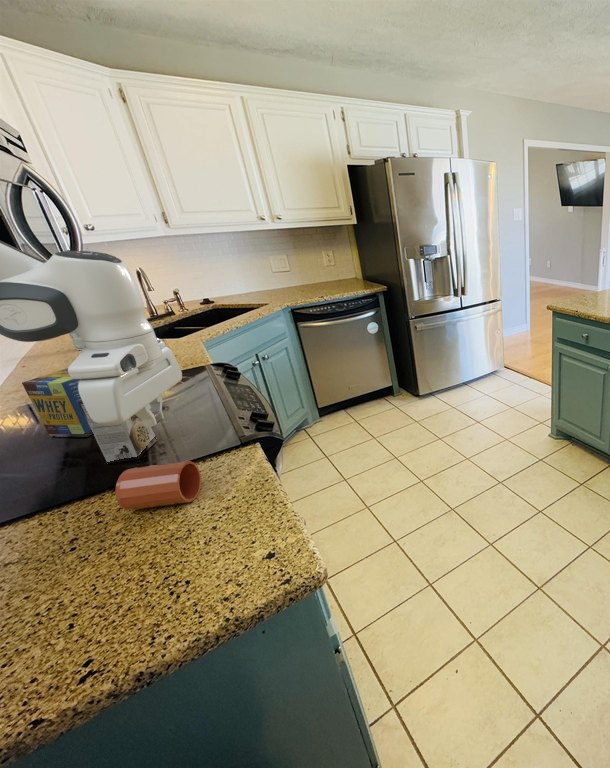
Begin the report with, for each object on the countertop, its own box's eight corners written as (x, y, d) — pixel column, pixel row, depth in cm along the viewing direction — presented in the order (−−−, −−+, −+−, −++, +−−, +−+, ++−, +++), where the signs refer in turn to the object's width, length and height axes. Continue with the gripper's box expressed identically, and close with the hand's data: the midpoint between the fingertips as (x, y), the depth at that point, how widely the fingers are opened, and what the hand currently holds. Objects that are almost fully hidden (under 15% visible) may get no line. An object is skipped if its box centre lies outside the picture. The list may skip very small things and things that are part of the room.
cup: (109, 484, 73) (172, 476, 75) (135, 460, 80) (193, 453, 82) (125, 519, 76) (186, 510, 78) (150, 493, 83) (205, 485, 85)
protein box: (48, 438, 105) (19, 382, 99) (107, 411, 119) (84, 361, 113) (86, 438, 104) (59, 383, 98) (141, 411, 118) (120, 361, 112)
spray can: (75, 351, 174) (53, 305, 166) (77, 348, 179) (56, 303, 171) (95, 348, 178) (76, 303, 170) (97, 345, 183) (77, 301, 175)
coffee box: (127, 445, 100) (101, 385, 94) (158, 441, 102) (134, 382, 96) (106, 465, 92) (75, 401, 86) (140, 460, 94) (112, 397, 88)
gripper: (140, 336, 78) (165, 401, 83) (57, 373, 59) (96, 454, 65) (178, 333, 79) (200, 398, 84) (108, 369, 61) (142, 449, 66)
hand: (154, 423), depth 74 cm, fingers closed
